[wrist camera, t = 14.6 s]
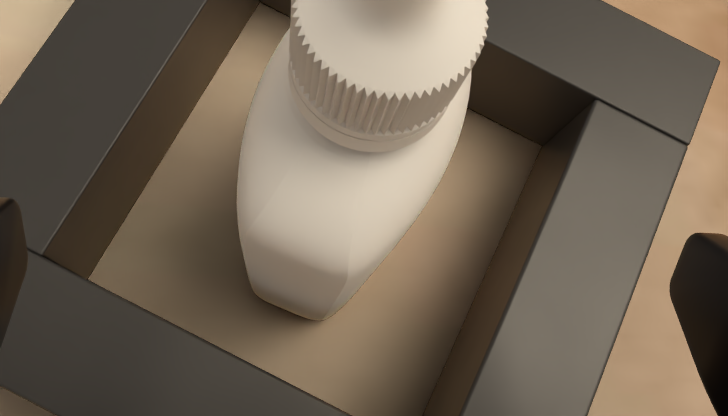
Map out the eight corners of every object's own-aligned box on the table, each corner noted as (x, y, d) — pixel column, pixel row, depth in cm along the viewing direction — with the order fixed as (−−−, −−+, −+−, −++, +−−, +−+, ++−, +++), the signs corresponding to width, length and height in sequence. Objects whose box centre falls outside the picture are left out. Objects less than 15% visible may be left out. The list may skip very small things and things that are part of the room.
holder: (456, 594, 17) (502, 645, 13) (-64, 326, 17) (-149, 310, 13) (648, 114, 21) (721, 60, 17) (225, -103, 21) (215, -198, 17)
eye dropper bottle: (190, 213, 18) (45, -91, 7) (357, 95, 20) (478, -326, 8) (293, 347, 18) (331, 272, 6) (457, 216, 19) (740, -48, 8)
